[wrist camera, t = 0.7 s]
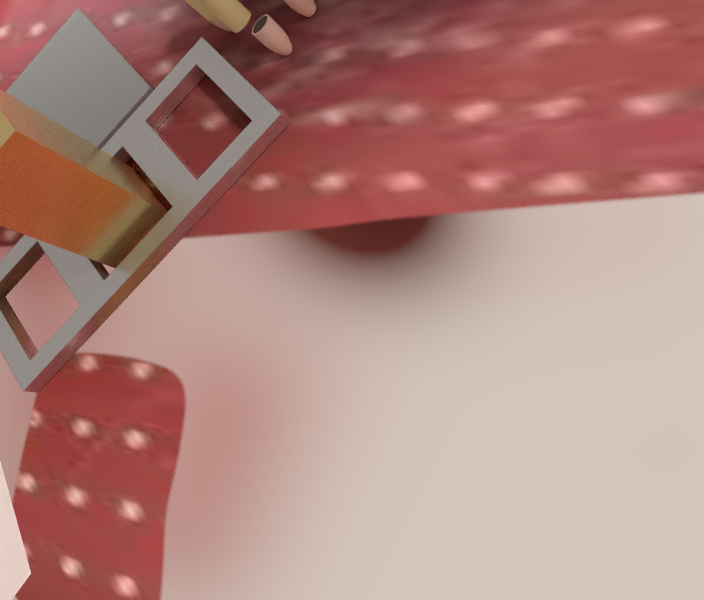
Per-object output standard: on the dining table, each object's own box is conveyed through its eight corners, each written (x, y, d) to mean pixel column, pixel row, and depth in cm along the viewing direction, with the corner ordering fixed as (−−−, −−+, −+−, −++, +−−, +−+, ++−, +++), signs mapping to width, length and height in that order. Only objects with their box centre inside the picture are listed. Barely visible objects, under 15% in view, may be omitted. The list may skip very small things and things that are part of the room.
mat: (81, 11, 48) (77, 7, 48) (153, 90, 44) (150, 87, 44) (-12, 118, 50) (-16, 116, 49) (50, 206, 45) (45, 204, 45)
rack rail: (211, 47, 43) (201, 36, 42) (289, 123, 39) (280, 113, 38) (-16, 299, 46) (-31, 296, 45) (38, 392, 42) (23, 391, 41)
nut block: (132, 168, 43) (-26, 73, 32) (170, 214, 41) (15, 130, 30) (84, 221, 44) (-87, 146, 33) (119, 269, 42) (-51, 206, 31)
